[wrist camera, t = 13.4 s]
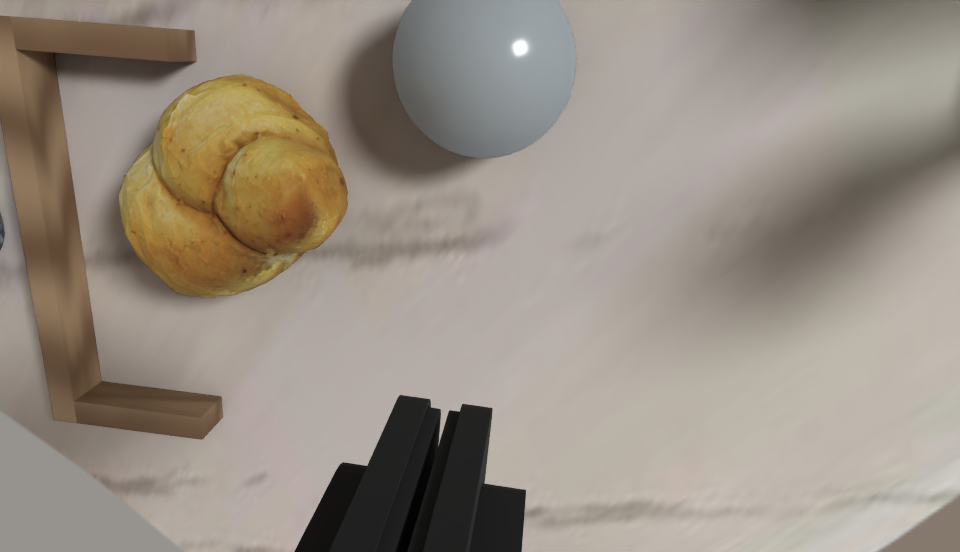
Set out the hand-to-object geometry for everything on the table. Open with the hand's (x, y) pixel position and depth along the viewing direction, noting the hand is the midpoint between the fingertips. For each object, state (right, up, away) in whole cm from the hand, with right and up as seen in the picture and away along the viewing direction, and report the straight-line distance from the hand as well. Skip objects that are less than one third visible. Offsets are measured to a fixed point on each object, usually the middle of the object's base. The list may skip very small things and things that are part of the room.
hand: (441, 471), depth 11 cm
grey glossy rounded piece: (+1, +14, +20) cm, 25 cm away
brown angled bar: (-20, +6, +25) cm, 33 cm away
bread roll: (-12, +8, +24) cm, 28 cm away
